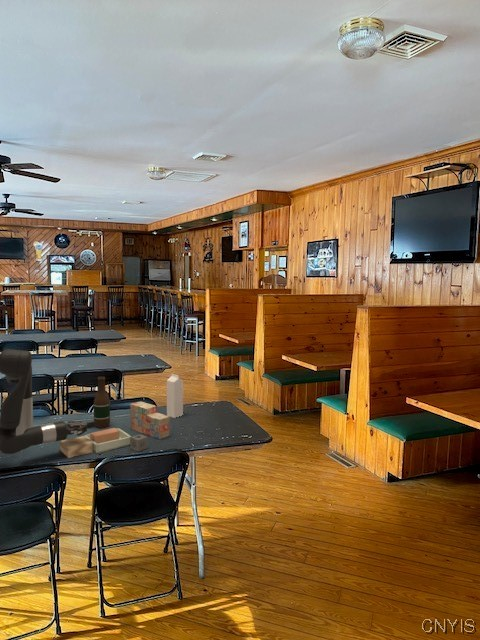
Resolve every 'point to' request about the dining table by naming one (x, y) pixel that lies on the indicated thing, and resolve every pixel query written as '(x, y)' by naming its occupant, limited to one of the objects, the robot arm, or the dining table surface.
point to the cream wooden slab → (76, 446)
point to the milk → (174, 396)
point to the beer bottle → (101, 406)
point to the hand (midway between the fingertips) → (94, 424)
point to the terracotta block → (105, 435)
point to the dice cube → (138, 442)
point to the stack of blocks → (149, 420)
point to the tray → (111, 442)
